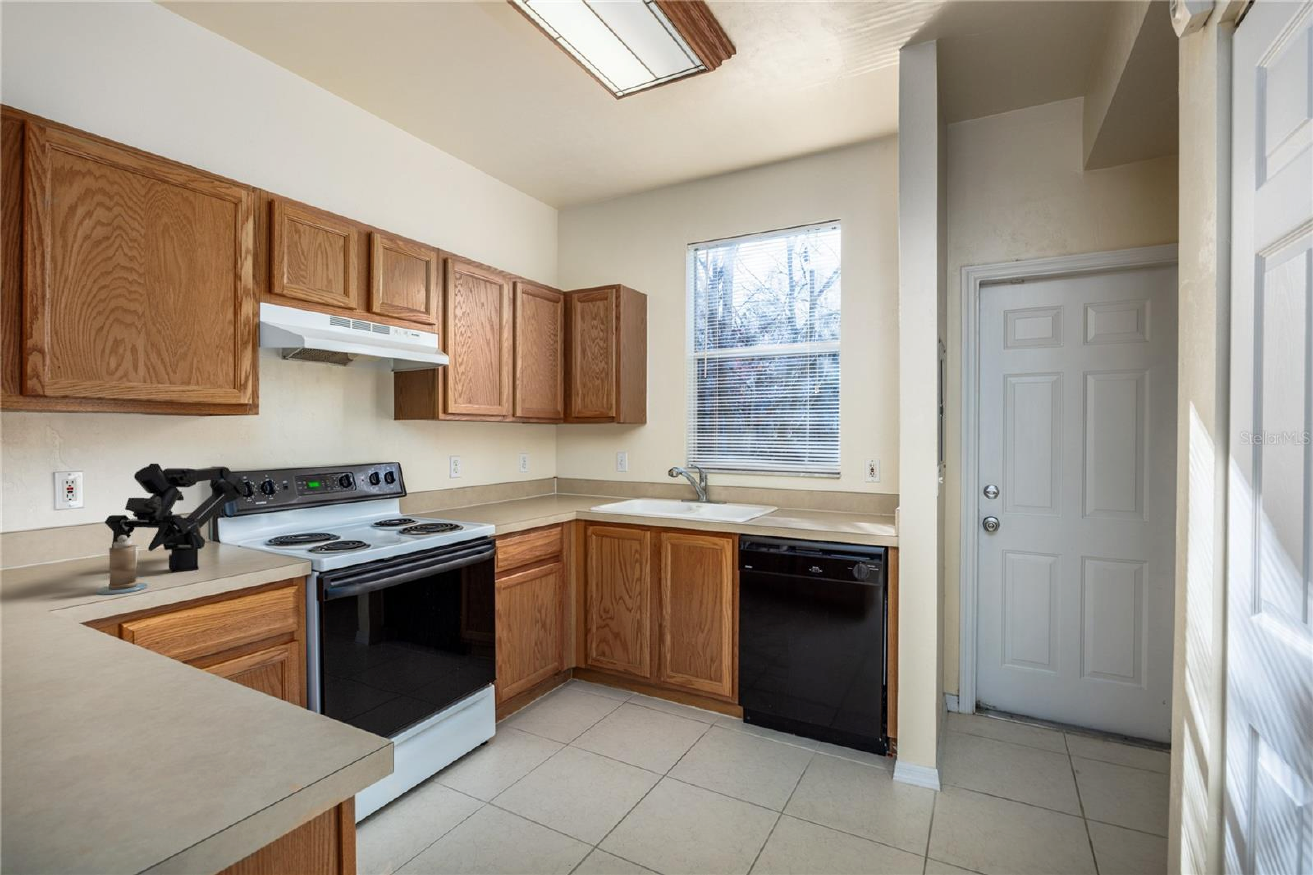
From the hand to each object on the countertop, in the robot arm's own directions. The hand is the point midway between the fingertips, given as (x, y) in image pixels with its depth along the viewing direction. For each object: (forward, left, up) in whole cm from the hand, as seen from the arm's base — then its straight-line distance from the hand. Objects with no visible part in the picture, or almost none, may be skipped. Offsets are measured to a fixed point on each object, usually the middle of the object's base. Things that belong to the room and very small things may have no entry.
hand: (131, 550), depth 165 cm
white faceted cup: (+2, -27, -10) cm, 28 cm away
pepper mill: (+2, +2, -9) cm, 10 cm away
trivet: (+2, +2, -10) cm, 10 cm away
